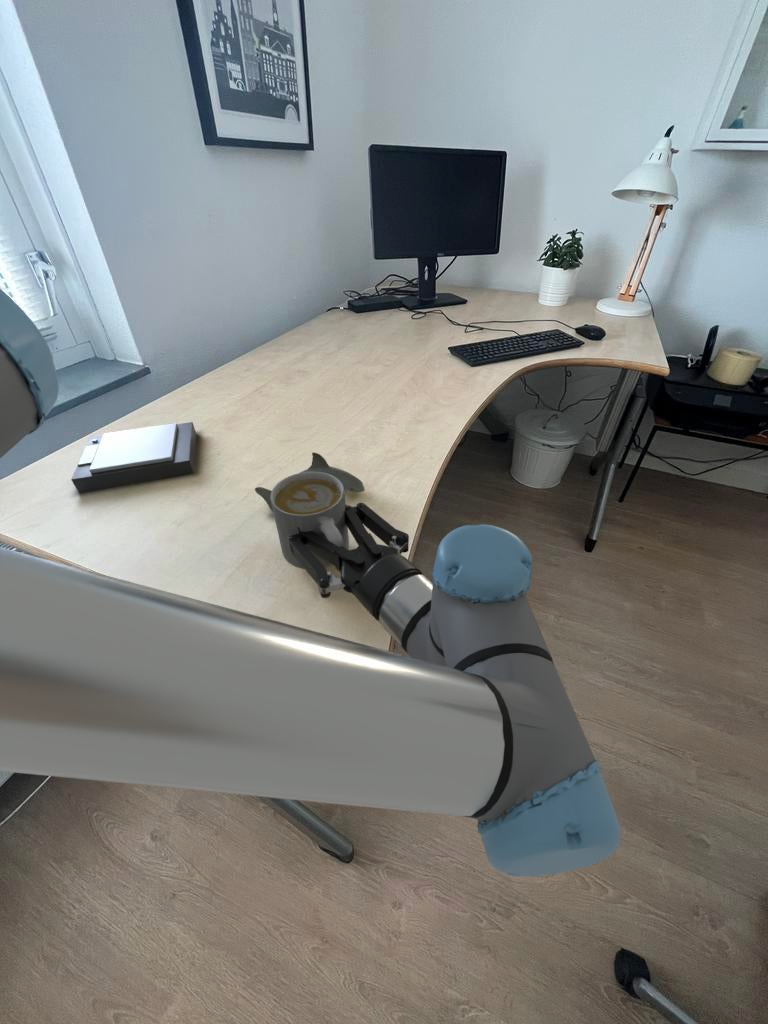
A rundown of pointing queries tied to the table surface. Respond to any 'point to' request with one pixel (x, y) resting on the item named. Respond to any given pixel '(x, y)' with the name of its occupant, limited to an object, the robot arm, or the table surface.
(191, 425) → the scale
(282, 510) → the coffee mug
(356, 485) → the shark figurine
